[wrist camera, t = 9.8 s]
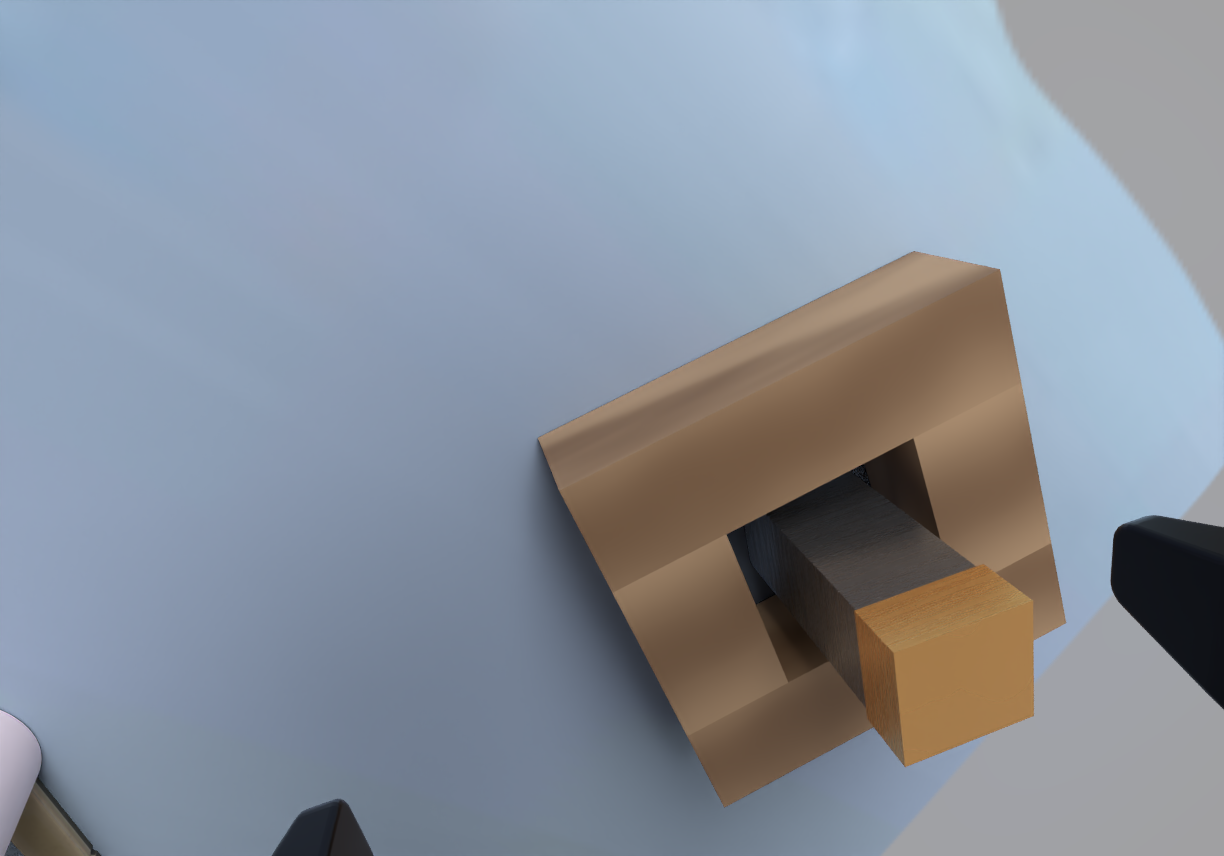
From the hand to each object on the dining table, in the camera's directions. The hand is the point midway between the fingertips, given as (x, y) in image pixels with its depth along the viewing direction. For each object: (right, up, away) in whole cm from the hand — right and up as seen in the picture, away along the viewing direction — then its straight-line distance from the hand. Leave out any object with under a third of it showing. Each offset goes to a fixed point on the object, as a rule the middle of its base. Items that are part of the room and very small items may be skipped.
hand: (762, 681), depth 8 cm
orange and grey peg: (+4, 0, +15) cm, 16 cm away
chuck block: (+4, 0, +15) cm, 16 cm away
